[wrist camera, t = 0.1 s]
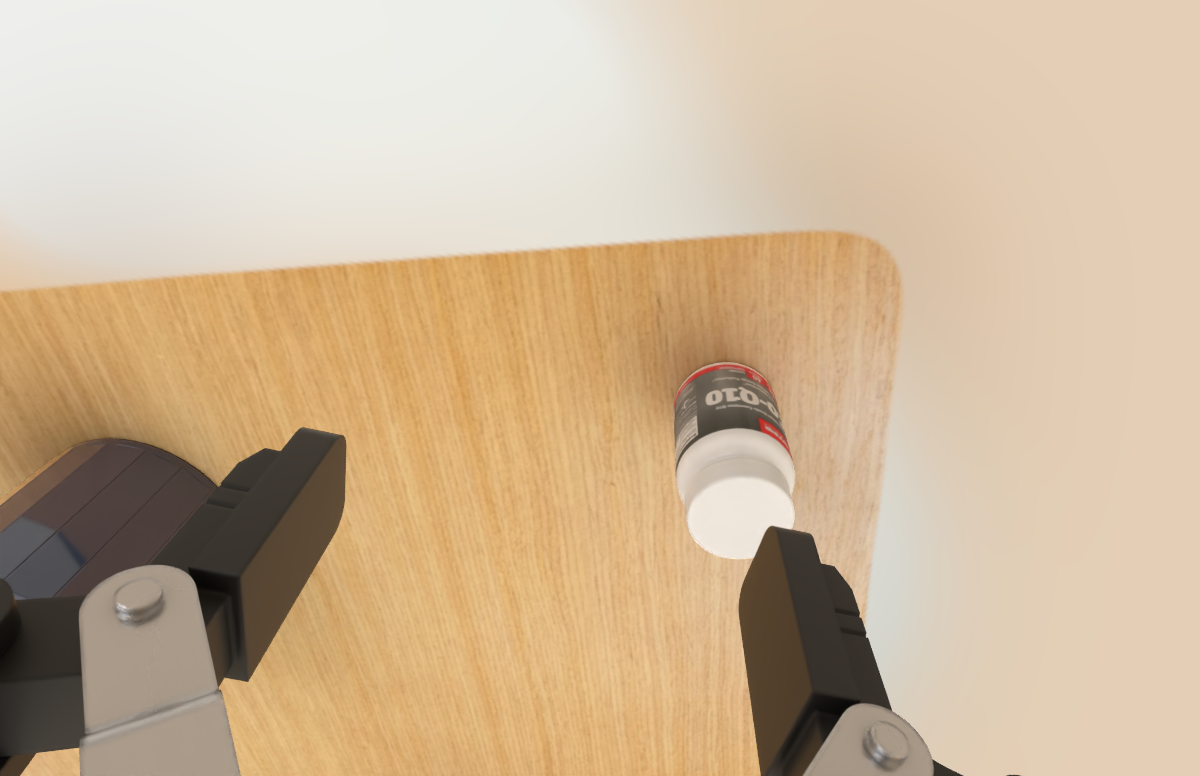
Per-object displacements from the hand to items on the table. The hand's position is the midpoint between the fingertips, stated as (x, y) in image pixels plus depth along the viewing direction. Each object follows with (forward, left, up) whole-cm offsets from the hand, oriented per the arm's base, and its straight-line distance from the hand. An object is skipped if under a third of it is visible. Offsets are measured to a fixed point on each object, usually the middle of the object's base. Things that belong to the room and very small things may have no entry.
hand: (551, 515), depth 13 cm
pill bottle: (+7, +7, -19) cm, 21 cm away
